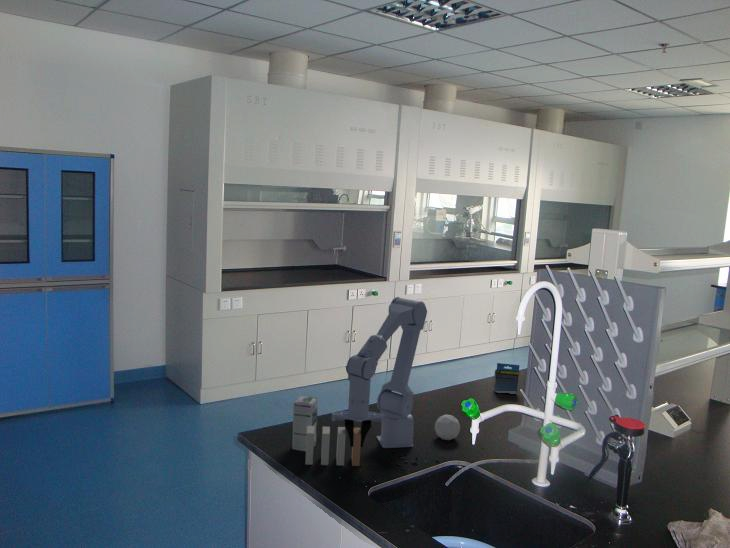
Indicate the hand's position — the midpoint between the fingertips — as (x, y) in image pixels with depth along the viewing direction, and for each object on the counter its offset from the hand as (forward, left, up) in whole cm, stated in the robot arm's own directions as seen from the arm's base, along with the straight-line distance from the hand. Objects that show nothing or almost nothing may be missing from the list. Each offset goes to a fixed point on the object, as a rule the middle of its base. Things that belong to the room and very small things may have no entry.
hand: (356, 445), depth 164 cm
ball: (-32, -12, -5) cm, 35 cm away
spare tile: (0, 0, -5) cm, 5 cm away
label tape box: (-72, -51, -5) cm, 88 cm away
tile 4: (+13, -2, -5) cm, 14 cm away
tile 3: (+8, -2, -5) cm, 10 cm away
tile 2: (+4, -1, -5) cm, 6 cm away
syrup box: (+13, -11, -5) cm, 18 cm away
